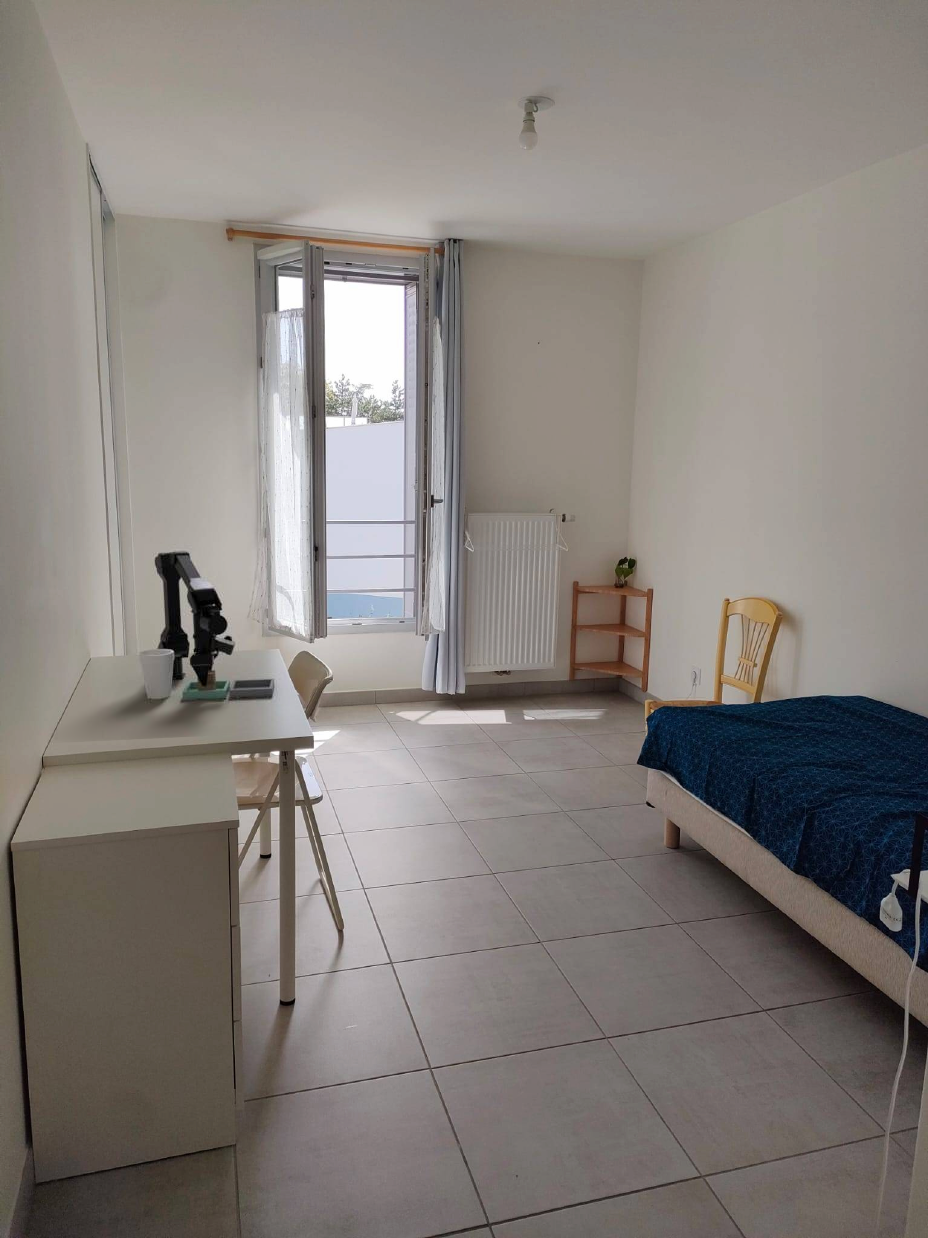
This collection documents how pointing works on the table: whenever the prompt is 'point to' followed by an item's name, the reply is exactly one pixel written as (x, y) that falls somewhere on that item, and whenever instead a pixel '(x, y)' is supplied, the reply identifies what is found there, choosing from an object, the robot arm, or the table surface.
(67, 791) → the table surface
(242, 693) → the tray
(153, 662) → the foam cup
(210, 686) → the walnut block
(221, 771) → the table surface
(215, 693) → the tray
